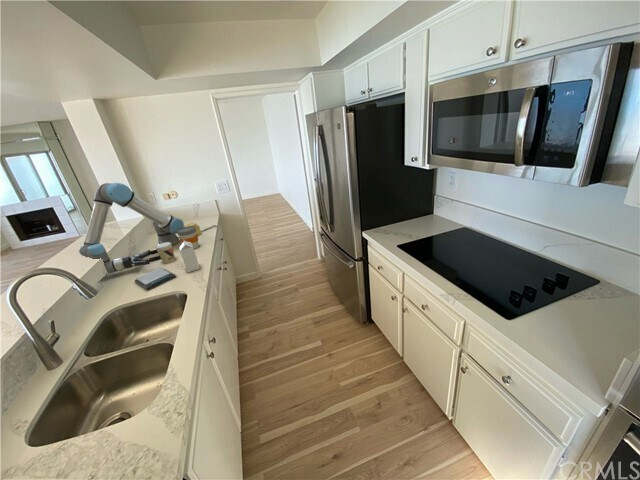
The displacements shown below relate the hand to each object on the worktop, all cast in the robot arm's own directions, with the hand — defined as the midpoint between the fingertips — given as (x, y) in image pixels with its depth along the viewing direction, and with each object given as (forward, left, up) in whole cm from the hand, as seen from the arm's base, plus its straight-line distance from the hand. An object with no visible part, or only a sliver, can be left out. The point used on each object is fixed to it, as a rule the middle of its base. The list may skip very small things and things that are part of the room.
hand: (161, 253), depth 177 cm
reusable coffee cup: (-23, -5, -7) cm, 24 cm away
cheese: (-37, -30, -7) cm, 48 cm away
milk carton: (-5, +30, -7) cm, 31 cm away
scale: (+14, +21, -6) cm, 26 cm away
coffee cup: (-3, +1, -7) cm, 7 cm away
